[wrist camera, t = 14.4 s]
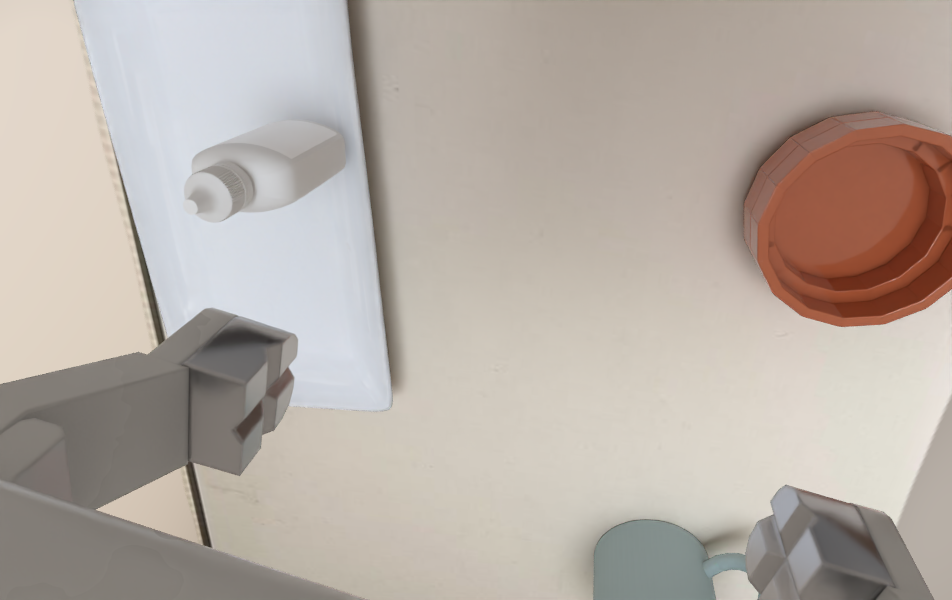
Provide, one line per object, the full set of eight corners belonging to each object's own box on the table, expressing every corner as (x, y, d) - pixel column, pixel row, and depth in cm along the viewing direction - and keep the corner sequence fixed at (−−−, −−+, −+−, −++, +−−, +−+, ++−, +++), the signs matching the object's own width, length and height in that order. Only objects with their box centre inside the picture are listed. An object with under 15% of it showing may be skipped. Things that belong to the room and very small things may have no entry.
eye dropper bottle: (276, 89, 37) (146, 129, 26) (359, 142, 38) (264, 201, 27) (251, 152, 39) (120, 212, 28) (330, 201, 40) (230, 278, 29)
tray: (359, -78, 36) (336, -85, 33) (405, 391, 49) (392, 417, 46) (95, -62, 39) (51, -67, 36) (207, 377, 52) (182, 401, 49)
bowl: (791, 88, 35) (815, 100, 31) (992, 140, 35) (1043, 159, 31) (712, 265, 41) (725, 295, 37) (887, 313, 40) (918, 349, 36)
